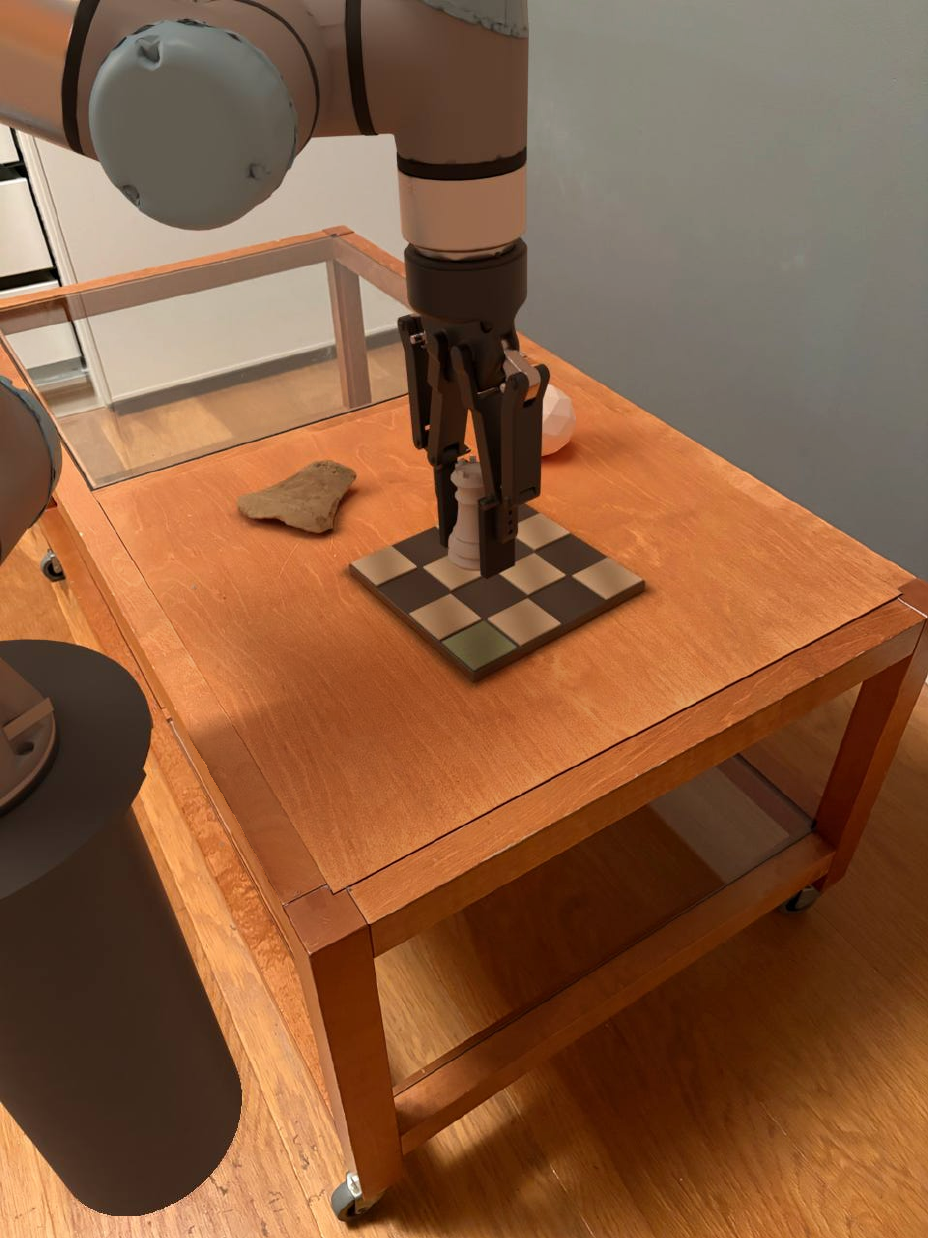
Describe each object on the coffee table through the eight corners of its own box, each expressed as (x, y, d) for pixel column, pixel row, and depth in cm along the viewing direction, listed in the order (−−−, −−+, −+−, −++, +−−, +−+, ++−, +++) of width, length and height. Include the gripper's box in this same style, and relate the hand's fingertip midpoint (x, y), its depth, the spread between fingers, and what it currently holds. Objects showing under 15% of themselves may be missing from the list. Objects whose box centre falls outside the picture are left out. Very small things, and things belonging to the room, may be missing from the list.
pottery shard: (327, 551, 93) (372, 482, 98) (313, 520, 90) (360, 450, 95) (239, 533, 97) (287, 467, 103) (222, 502, 94) (273, 436, 99)
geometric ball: (531, 463, 108) (534, 392, 107) (588, 459, 102) (592, 385, 102) (486, 454, 102) (490, 379, 102) (545, 450, 97) (549, 371, 96)
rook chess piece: (469, 581, 70) (463, 487, 65) (436, 553, 73) (429, 461, 68) (518, 560, 71) (516, 467, 66) (484, 533, 74) (481, 442, 69)
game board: (473, 683, 76) (473, 672, 75) (349, 572, 88) (347, 562, 87) (645, 590, 84) (646, 579, 84) (509, 501, 97) (509, 491, 96)
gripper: (611, 260, 53) (592, 589, 68) (432, 196, 64) (449, 491, 79) (507, 294, 50) (510, 632, 65) (337, 220, 61) (373, 523, 76)
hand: (476, 554), depth 72 cm, fingers closed on rook chess piece, 4 cm apart
